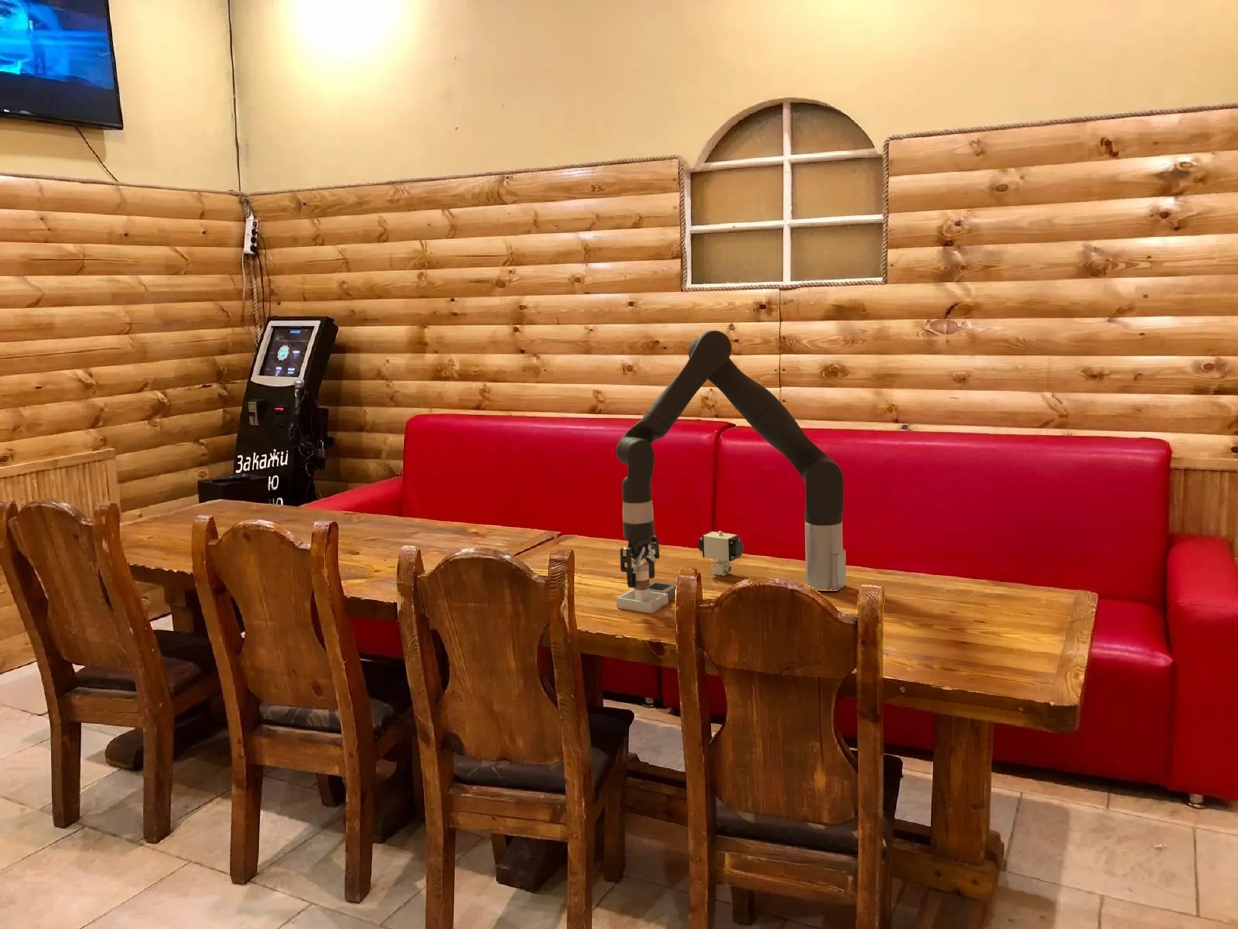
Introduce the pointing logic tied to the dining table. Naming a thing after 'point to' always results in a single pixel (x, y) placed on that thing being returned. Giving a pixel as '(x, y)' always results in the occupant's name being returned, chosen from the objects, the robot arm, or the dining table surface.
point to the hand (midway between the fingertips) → (641, 582)
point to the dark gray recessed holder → (663, 588)
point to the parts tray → (642, 602)
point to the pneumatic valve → (721, 550)
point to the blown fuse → (642, 583)
